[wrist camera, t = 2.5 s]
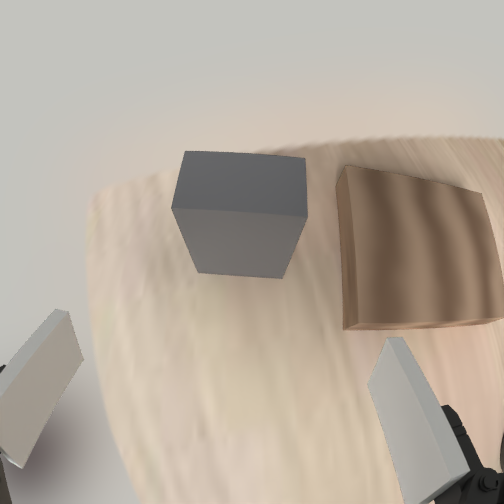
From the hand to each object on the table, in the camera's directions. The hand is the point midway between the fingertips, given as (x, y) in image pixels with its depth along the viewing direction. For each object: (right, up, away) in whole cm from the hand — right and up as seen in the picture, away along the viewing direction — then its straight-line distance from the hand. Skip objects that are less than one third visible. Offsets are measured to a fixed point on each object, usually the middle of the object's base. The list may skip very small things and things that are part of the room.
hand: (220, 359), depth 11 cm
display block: (+20, +4, +18) cm, 28 cm away
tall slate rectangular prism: (0, +4, +18) cm, 18 cm away
